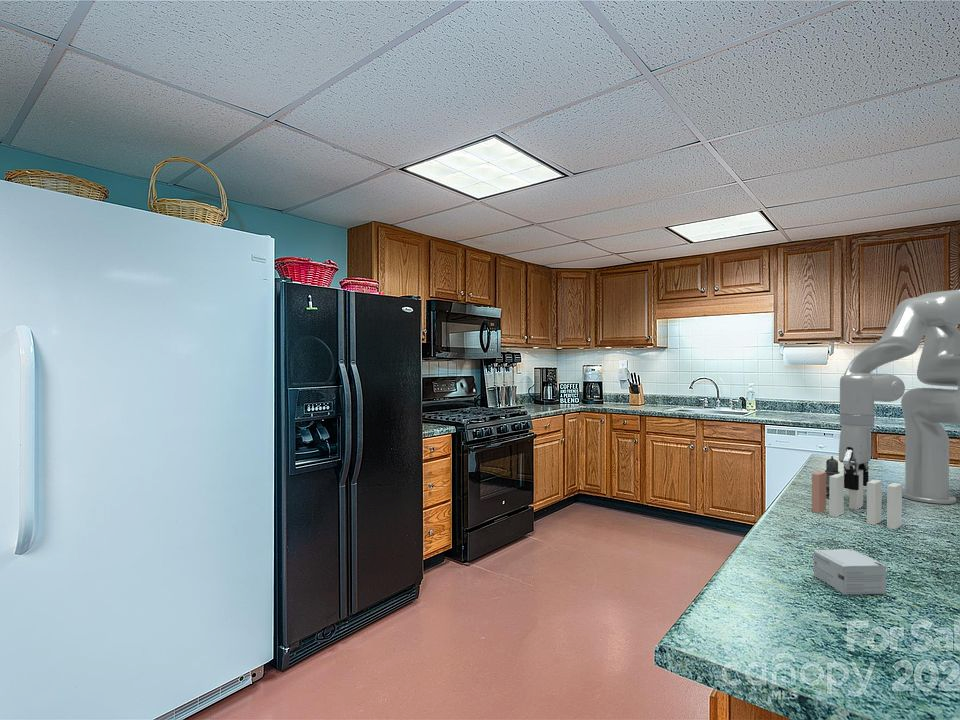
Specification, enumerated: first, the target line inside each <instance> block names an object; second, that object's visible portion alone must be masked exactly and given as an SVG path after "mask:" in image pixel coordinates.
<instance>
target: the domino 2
mask: <svg viewBox="0 0 960 720" xmlns="http://www.w3.org/2000/svg"><path fill="white" fill-rule="evenodd" d="M857 475H859V490H851V489H848V490H849V491H848V492H849V498H848V499H849V506H848V508H850V510H853V509H855V510H854V511H857V509H858V510H860V509H862V508H863V507H864V486H863V470H859V469H858V473H857ZM862 506H863V507H862ZM861 507H862V508H861ZM859 508H860V509H859Z"/></svg>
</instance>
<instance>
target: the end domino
mask: <svg viewBox="0 0 960 720" xmlns="http://www.w3.org/2000/svg"><path fill="white" fill-rule="evenodd" d="M826 494H827V493H826V472H825V471H821V470H820V471H816V472H813V473H811V512H812V513H814V514H820V513H823V512H825V511H827V498H826ZM824 510H825V511H824ZM822 511H823V512H822Z"/></svg>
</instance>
